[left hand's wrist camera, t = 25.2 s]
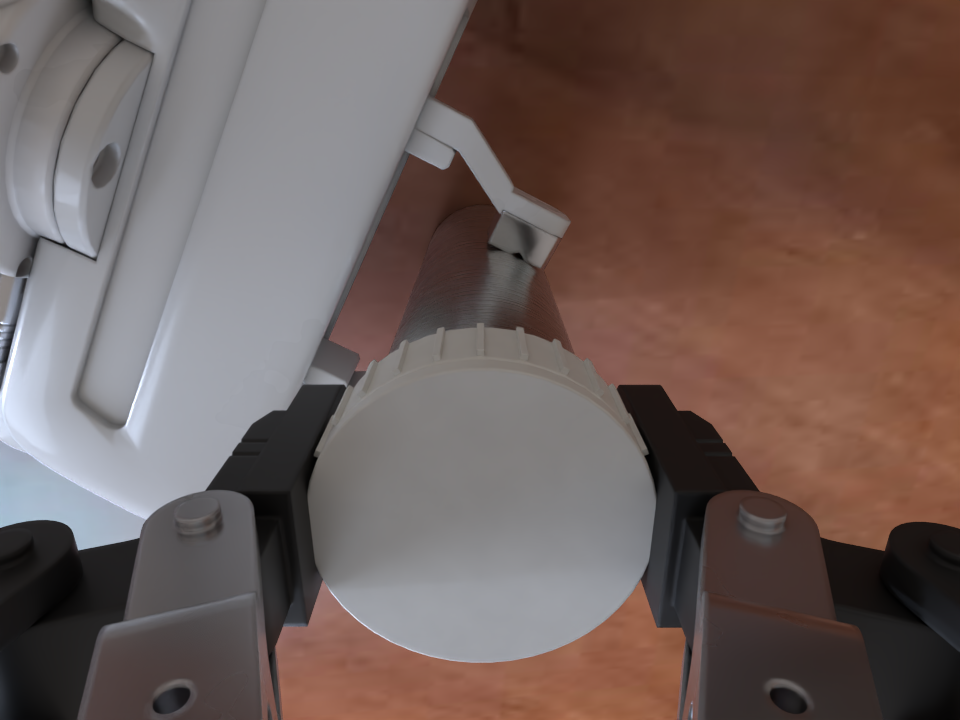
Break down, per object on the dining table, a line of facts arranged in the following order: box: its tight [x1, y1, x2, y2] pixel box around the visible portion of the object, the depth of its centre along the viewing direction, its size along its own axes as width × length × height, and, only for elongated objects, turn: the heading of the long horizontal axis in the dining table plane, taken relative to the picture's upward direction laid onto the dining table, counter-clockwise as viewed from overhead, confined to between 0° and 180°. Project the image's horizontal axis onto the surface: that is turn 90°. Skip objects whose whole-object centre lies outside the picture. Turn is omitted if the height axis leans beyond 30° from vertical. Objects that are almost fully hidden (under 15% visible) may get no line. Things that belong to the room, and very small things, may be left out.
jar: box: [389, 205, 575, 355], centre depth 17 cm, size 4×4×16 cm
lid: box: [307, 323, 656, 662], centre depth 10 cm, size 5×5×2 cm
